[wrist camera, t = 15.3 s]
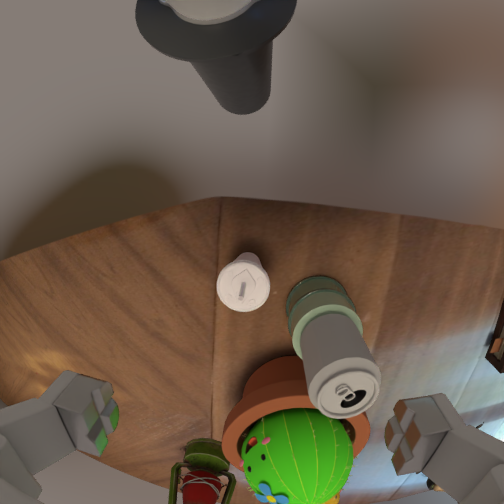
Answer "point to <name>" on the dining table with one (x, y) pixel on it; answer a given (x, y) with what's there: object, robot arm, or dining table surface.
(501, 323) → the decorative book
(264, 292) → the smoothie
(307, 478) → the potted cactus
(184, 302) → the dining table surface
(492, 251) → the dining table surface
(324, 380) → the can
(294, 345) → the cup stack
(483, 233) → the dining table surface
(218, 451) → the lantern
